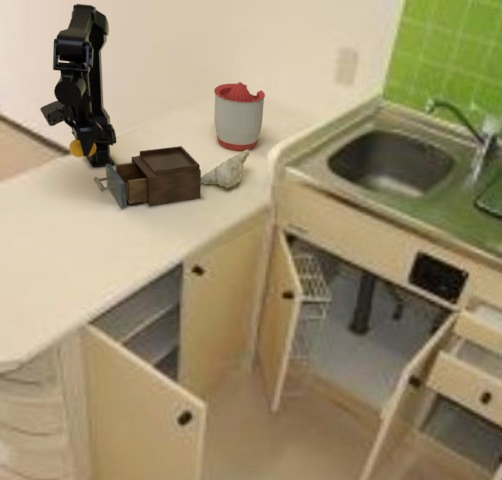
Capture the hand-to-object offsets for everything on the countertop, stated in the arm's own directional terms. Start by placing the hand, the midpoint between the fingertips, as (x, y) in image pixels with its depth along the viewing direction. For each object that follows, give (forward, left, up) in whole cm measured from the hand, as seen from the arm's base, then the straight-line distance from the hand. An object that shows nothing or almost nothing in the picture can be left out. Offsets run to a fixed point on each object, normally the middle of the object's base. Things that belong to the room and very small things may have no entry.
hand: (83, 152), depth 161 cm
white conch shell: (+2, +39, -13) cm, 42 cm away
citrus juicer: (-21, +54, -13) cm, 60 cm away
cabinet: (+3, +20, -13) cm, 24 cm away
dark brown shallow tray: (+3, +20, -5) cm, 21 cm away
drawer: (+3, +11, -12) cm, 16 cm away
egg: (0, 0, -1) cm, 1 cm away
